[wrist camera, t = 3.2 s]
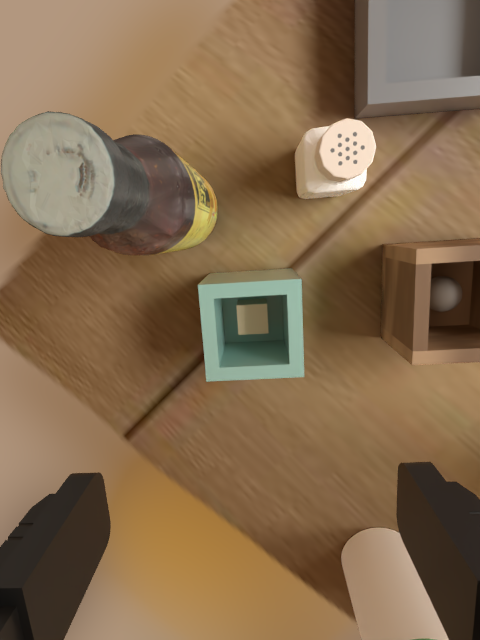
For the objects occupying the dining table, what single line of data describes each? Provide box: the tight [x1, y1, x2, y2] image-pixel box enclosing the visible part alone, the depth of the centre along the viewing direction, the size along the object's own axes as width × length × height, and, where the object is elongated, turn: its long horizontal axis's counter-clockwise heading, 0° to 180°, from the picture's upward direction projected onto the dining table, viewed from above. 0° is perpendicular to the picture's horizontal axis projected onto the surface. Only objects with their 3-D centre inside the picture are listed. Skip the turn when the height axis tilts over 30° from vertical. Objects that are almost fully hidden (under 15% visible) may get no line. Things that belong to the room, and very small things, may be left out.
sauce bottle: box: [1, 112, 218, 255], centre depth 23 cm, size 7×6×20 cm
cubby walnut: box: [381, 238, 480, 365], centre depth 30 cm, size 8×8×7 cm
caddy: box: [355, 0, 480, 119], centre depth 27 cm, size 11×11×4 cm
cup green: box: [198, 268, 304, 382], centre depth 31 cm, size 7×7×7 cm
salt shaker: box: [295, 118, 376, 199], centre depth 27 cm, size 4×4×10 cm
